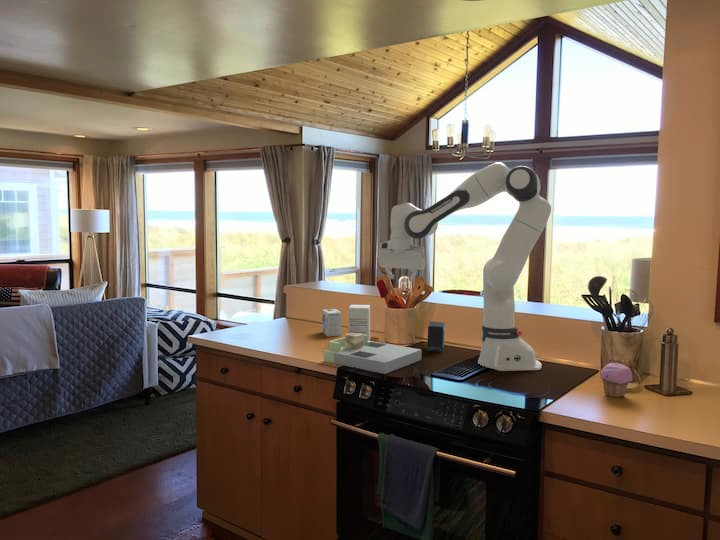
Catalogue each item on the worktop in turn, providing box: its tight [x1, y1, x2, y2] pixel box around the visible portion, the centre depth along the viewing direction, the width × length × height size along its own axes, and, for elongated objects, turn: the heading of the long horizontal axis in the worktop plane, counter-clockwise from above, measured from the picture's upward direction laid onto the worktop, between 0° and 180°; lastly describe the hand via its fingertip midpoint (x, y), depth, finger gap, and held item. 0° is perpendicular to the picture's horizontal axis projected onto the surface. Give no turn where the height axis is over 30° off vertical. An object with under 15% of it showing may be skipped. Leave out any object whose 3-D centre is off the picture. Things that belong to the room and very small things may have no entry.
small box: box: [426, 320, 446, 353], centre depth 234 cm, size 11×6×10 cm, turn 168°
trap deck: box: [323, 334, 422, 375], centre depth 215 cm, size 28×24×7 cm
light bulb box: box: [321, 308, 343, 337], centre depth 263 cm, size 11×7×11 cm, turn 17°
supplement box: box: [348, 304, 371, 341], centre depth 250 cm, size 9×9×15 cm
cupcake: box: [599, 362, 633, 398], centre depth 174 cm, size 9×9×10 cm
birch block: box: [344, 332, 363, 349], centre depth 219 cm, size 5×5×5 cm
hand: (401, 279), depth 225 cm, fingers open, 8 cm apart
